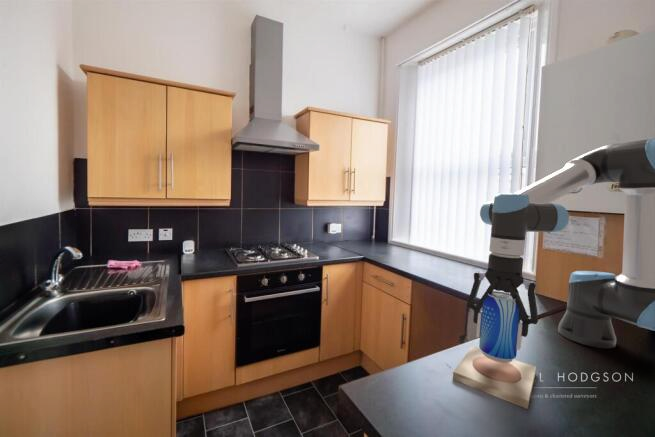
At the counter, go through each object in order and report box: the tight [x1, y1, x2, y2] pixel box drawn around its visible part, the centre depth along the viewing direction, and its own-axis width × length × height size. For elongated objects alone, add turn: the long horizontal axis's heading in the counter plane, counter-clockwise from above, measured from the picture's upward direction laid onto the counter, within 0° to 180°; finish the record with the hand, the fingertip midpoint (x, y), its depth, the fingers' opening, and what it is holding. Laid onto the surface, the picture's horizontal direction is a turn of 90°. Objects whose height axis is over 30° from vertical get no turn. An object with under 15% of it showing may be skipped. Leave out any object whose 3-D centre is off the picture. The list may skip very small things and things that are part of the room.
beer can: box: [478, 290, 521, 363], centre depth 78 cm, size 8×8×16 cm
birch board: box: [452, 345, 537, 410], centre depth 79 cm, size 16×18×2 cm
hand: (498, 341), depth 78 cm, fingers closed on beer can, 8 cm apart
